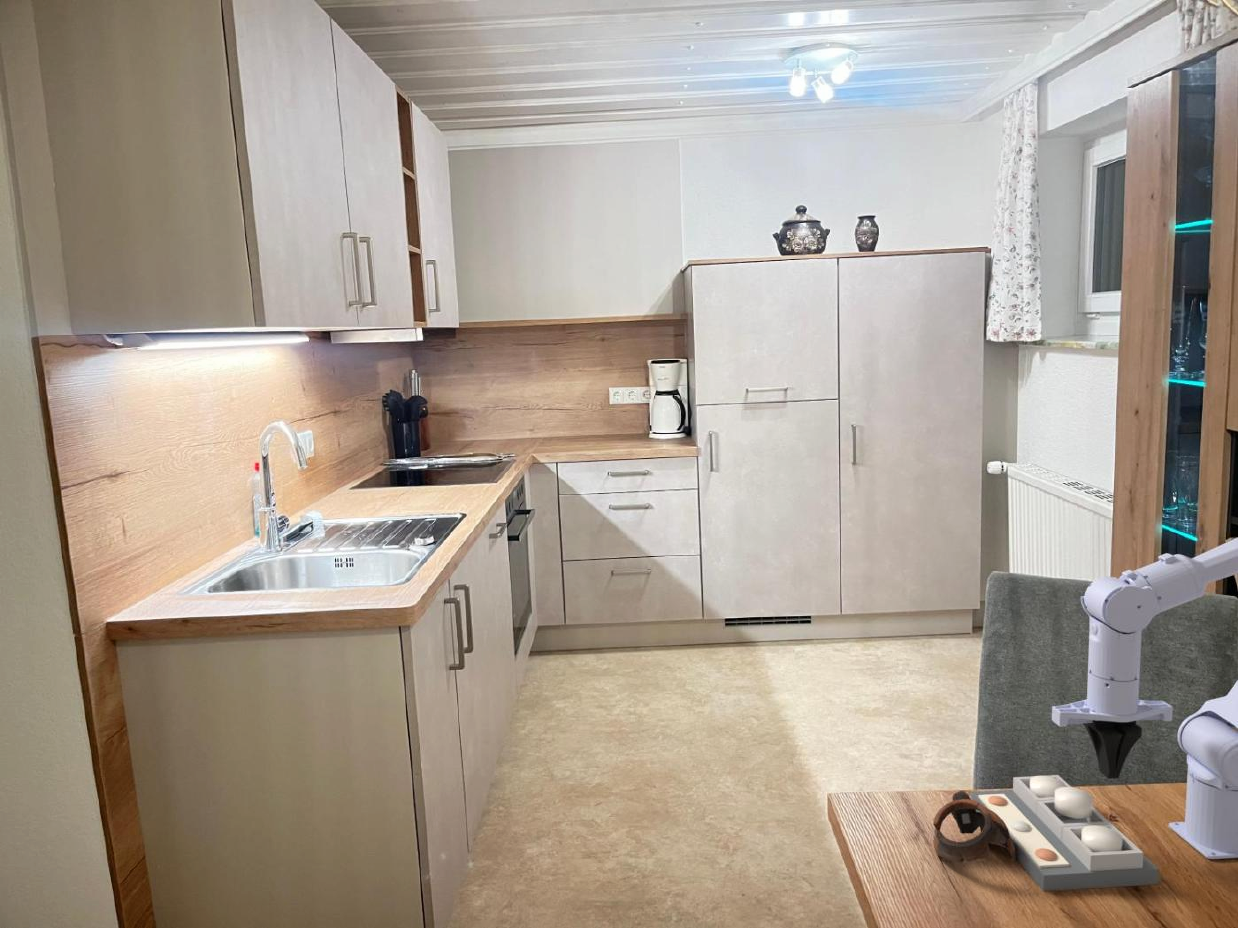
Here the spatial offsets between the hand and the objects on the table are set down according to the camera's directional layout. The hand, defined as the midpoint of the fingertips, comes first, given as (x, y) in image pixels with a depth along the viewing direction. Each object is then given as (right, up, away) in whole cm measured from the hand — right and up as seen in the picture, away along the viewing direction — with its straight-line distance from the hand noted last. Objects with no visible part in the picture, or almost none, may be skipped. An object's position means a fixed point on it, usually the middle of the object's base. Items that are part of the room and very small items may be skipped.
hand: (1109, 774), depth 115 cm
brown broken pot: (-17, -10, 0) cm, 20 cm away
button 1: (-4, -6, +8) cm, 11 cm away
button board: (-6, -9, +2) cm, 11 cm away
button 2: (-4, -8, -5) cm, 10 cm away
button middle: (-4, -5, +2) cm, 7 cm away
